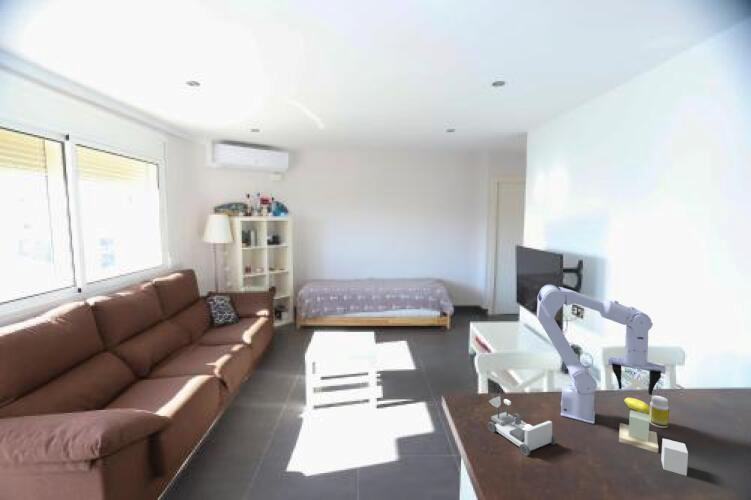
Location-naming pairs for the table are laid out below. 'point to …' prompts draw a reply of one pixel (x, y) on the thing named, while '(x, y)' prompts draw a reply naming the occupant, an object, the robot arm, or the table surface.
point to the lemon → (637, 405)
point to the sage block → (639, 425)
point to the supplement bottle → (659, 412)
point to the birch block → (626, 439)
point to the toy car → (520, 429)
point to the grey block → (674, 456)
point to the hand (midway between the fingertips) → (634, 390)
